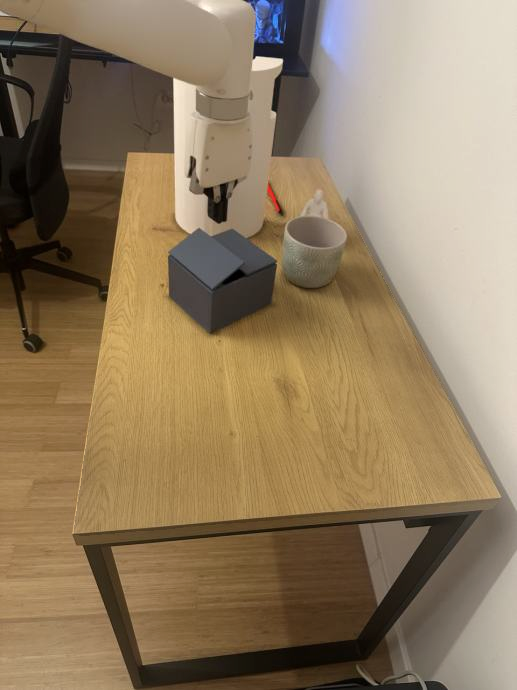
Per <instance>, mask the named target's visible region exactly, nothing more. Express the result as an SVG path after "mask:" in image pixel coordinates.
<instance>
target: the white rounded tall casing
mask: <svg viewBox="0 0 517 690" xmlns="http://www.w3.org/2000/svg"><path fill="white" fill-rule="evenodd" d="M283 63H284V59H283V58H277V57H268V56H267V57H266V56H258V55H257V56H255V58H253V62H252V74H251V86H250V90H251V91H252V92H253V99H252V100H249V110H248V112H249V113H250V115H251V124H252V158H251V166H250V170H249V173H248V174H247V178H246V179H245V180H243V181H242V182H240V183H237V185H236V187H235V188H234V190H233V193H232V197H231V198H230V199H228V211H227V221H226V222H222V223H220V224H218V223H216V222H215V221H213V220H212V219H211V218H209V217H208V213H207V206H208V197H207V196H206V195H205V194H201V195H195V194H193V193H192V192H190V191H189V186H190V181H191V178H187V177H186V176H185V173H184V158H185V144H186V135H187V129H188V124H189V119H190V116H191V113H193V112H196V86H195V85H191V84H188V83H186V82H183V81H180V80H178V79H175V78H172V81H173V85H172V87H173V143H174V144H173V145H174V146H173V147H174V148H173V151H174V155H173V157H174V215H175V217H174V218H175V221H176V223H177V224H178V226H179V227H180V228H181V229H182V230H183V231H185V232H186V233H188V234H189V235H190V234H191V233H193V232H194V231H195V230H197V229H198V228H200V229H202V230H203V231H204V232H206V233H207V234H208V235H209V236H213V235H216V234H219V233H221V232H224V231H227V230H230V229H234V230H235V231H237V232H238V233H239V234H241V235H242V236H244V237H245V238H246V239H248V238H251V237H253V236H254V235H256V234H257V233H258V232H259V231H260V230H261V229H262V228H263V225H264V219H265V212H266V203H267V194H268V190H267V187H268V184H269V177H270V172H271V171H270V170H271V164H272V163H271V162H272V155H273V154H272V153H273V148H274V147H273V145H274V139H275V129H276V122H277V111H273V110H272V107H273V98H274V89H275V81H276V78H278V76H279V75H280V74H281V72H282V71H283Z"/></svg>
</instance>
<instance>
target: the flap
mask: <svg viewBox="0 0 517 690" xmlns="http://www.w3.org/2000/svg"><path fill="white" fill-rule="evenodd" d="M167 253H168V255H171V256H173V257H174V258H175V259H176V260H177V261H179V262H180V263H181V264H182V265H183V266H185V267H186V268H187V269H188V270H189V271H191V272H192V273H193V274H194V275H195V276H196V277H198V278H199V279H200V280H201V281H202V282H204V283H205V284H206V285H207V286H208V287H210V288H211V289H212V290H213V289H215V288H216V287H217V286H218V285H220V284H221V283H222V282H223V281H224V280H226V279H227V278H228V277H229V276H230V275H232V274H233V273H234V272H235V271H236V270H238V269H239V268H240V267H241V266H243V265H244V264H245V262H244V261H243V260H241V259H240V258H239V257H237V256H236V255H235V254H233V253H232V252H231V251H229V250H228V249H227V248H225V247H224V246H223V245H221V244H220V243H219V242H217V241H216V240H215V239H213V238H212V237H211V236H209V235H208V234H207V233H206V232H204V231H203V230H202V229H200V228H198V229H197V230H195V231H194V232H193V233H191V234H190V233H189V235H187V236H186V237H185V238H184V239H182V240H181V241H179V242H178V243H177V244H176V245H175V246H173V247H172V248H170V249H169V250H168V251H167Z"/></svg>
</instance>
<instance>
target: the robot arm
mask: <svg viewBox="0 0 517 690" xmlns="http://www.w3.org/2000/svg"><path fill="white" fill-rule="evenodd" d="M0 12H3V13H6V14H8V15H11V16H14V17H16V18H19V19H22V20H24V21H26V22H29V23H31V24H33V25H36V26H38V27H42V28H44V29H47V30H49V31H50V32H51V31H52V32H54V33H57V34H59V35H62V36H63V37H66V38H69V39H70V40H73V41H75V42H77V43H80V44H82V45H86V46H88V47H91V48H95V49H98V50H101V51H104V52H106V53H108V54H109V53H110V54H112V55H114V56H117V57H120V58H122V59H124V60H127V61H130V62H131V63H135V64H136V65H139V66H141V67H144V68H146V69H149V70H151V71H154V72H157V73H159V74H162V75H164V76H167V77H169V78H172V79H173V78H175V79H178V80H180V81H183V82H186V83H188V84H191V85H195V86H196V112H193V113H191V116H190V119H189V124H188V129H187V135H186V144H185V158H184V173H185V176H186V177H187V178H191V181H190V186H189V191H190V192H192V193H193V194H195V195H201V194H205V195H206V196H207V197H208V206H207V213H208V217H209V218H211V219H212V220H213V221H215V222H216V223H218V224H220V223H222V222H226V221H227V211H228V199H230V198H231V197H232V193H233V190H234V188H235V187H236V185H237V183H240V182H242V181H243V180H245V179H246V178H247V174H248V173H249V170H250V166H251V158H252V124H251V115H250V113H249V112H248V110H249V100H252V99H253V92H252V91H251V90H250V86H251V74H252V62H253V60H254V49H255V48H254V47H255V35H256V22H257V21H256V20H257V15H256V10H255V9H254V7H253V6H252V5H251V4H250V3H249V2H248V1H245V0H0Z"/></svg>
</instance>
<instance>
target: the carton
mask: <svg viewBox="0 0 517 690" xmlns="http://www.w3.org/2000/svg"><path fill="white" fill-rule="evenodd" d="M211 237H212V238H213V239H215V240H216V241H217V242H219V243H220V244H221V245H223V246H224V247H225V248H227V249H228V250H229V251H231V252H232V253H233V254H235V255H236V256H237V257H239V258H240V259H241V260H243V261H244V262H245V264H244V265H243V266H241V267H240V268H239V269H238V270H236V271H235V272H234V273H233V274H232V275H230V276H229V277H228V278H227V279H226V280H224V281H223V282H222V284H223V285H224V286H222V287H219V288H217V289H215V290H212V289H210V288H209V287H208V286H207V285H206V284H204V283H203V282H202V281H201V280H200V279H198V277H196V276H195V275H194V274H193V273H192V272H191V271H189V270H188V269H187V268H186V267H185V266H183V265H182V264H181V263H180V262H179V261H177V260H176V259H175V258H174V257H173V256H171V255H170V254H168V255H167V272H168V297H169V298H170V299H171V300H172V301H173V302H174V303H175V304H176V305H177V306H178V307H180V308H181V310H183V311H184V312H185V313H186V314H187V315H188V316H189V317H190V318H191V319H193V320H194V321H195V322H196V323H197V324H198V325H199V326H200V327H201V328H202V329H203V330H205V331H206V332H207V333H208V334H209V335H211V334H214V333H216V332H218V331H220V330H222V329H224V328H226V327H228V326H230V325H232V324H234V323H237V322H238V321H240V320H242V319H244V318H246V317H249V316H250V315H252V314H254V313H256V312H258V311H261V310H263V309H265V308H267V307H268V306H271V305H272V302H273V301H272V300H273V295H274V294H273V293H274V287H275V280H276V274H277V268H278V264H277V263H278V260H277V259H276V258H274V257H273V256H272V255H270V254H269V253H268V252H266V251H265V250H264V249H262V248H261V247H259V246H258V245H256V244H255V243H254V242H253V241H251V240H250V239H248V238H245V237H244V236H242V235H241V234H239V233H238V232H237V231H235V230H234V229H230V230H227V231H224V232H221V233H219V234H216V235H213V236H211Z"/></svg>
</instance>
